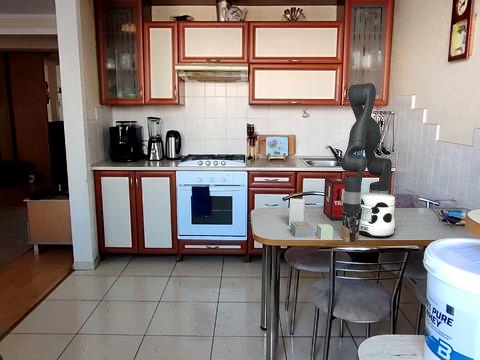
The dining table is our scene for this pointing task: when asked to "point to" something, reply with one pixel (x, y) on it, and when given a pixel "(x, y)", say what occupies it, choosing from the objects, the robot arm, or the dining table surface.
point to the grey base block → (301, 229)
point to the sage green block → (324, 232)
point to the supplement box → (296, 210)
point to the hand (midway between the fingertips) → (349, 238)
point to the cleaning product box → (333, 198)
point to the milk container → (377, 214)
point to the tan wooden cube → (348, 234)
